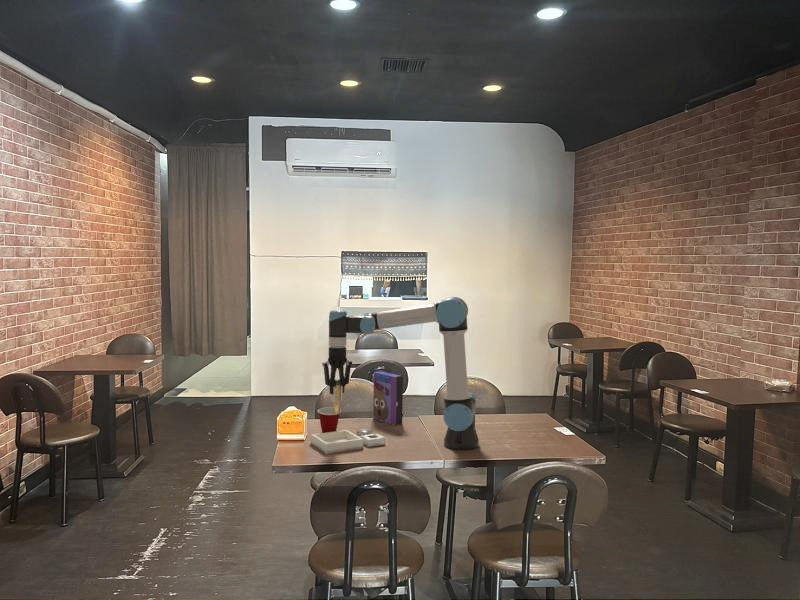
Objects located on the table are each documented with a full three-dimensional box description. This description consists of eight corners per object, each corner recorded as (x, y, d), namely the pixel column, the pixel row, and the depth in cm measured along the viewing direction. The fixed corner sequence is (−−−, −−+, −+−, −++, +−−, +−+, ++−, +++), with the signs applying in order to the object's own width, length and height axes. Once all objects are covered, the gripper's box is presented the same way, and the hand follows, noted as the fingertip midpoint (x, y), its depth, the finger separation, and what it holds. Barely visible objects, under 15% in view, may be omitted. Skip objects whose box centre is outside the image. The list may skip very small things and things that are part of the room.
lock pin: (342, 413, 263) (342, 380, 262) (334, 414, 261) (335, 381, 260) (338, 412, 266) (339, 379, 265) (331, 413, 264) (331, 379, 263)
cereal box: (373, 418, 314) (373, 372, 313) (380, 417, 317) (380, 371, 316) (394, 425, 300) (395, 376, 299) (402, 424, 303) (402, 375, 302)
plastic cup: (323, 440, 272) (324, 413, 272) (313, 434, 281) (313, 408, 281) (345, 436, 278) (345, 410, 278) (334, 431, 287) (334, 406, 287)
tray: (363, 448, 261) (363, 439, 260) (326, 453, 252) (326, 444, 252) (346, 438, 275) (346, 429, 275) (310, 443, 267) (311, 434, 267)
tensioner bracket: (385, 444, 267) (385, 436, 267) (368, 446, 263) (368, 438, 263) (368, 435, 281) (368, 428, 281) (352, 437, 277) (352, 430, 277)
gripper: (350, 344, 269) (349, 398, 270) (317, 346, 261) (316, 401, 262) (357, 346, 262) (357, 401, 264) (323, 348, 255) (323, 404, 256)
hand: (336, 401), depth 263 cm, fingers closed on lock pin, 2 cm apart
